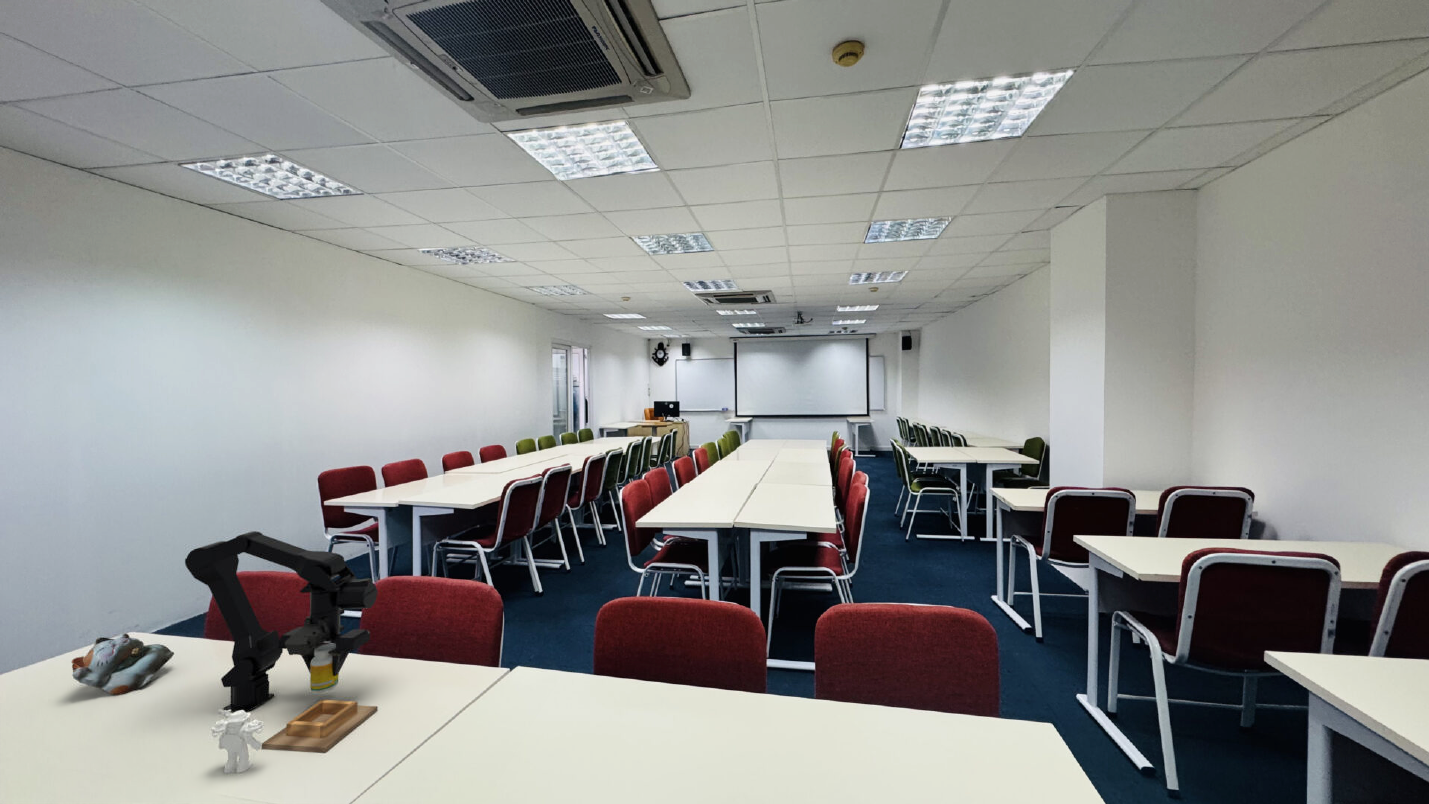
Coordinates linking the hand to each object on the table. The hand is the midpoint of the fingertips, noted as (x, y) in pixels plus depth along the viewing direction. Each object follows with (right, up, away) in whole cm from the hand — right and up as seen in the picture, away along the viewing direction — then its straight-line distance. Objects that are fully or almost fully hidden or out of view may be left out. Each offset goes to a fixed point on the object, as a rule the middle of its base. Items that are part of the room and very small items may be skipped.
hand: (324, 674), depth 119 cm
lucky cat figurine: (-55, -6, +6) cm, 55 cm away
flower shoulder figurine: (+1, -6, -23) cm, 24 cm away
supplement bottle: (0, -3, 0) cm, 3 cm away
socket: (+8, -6, -11) cm, 15 cm away
